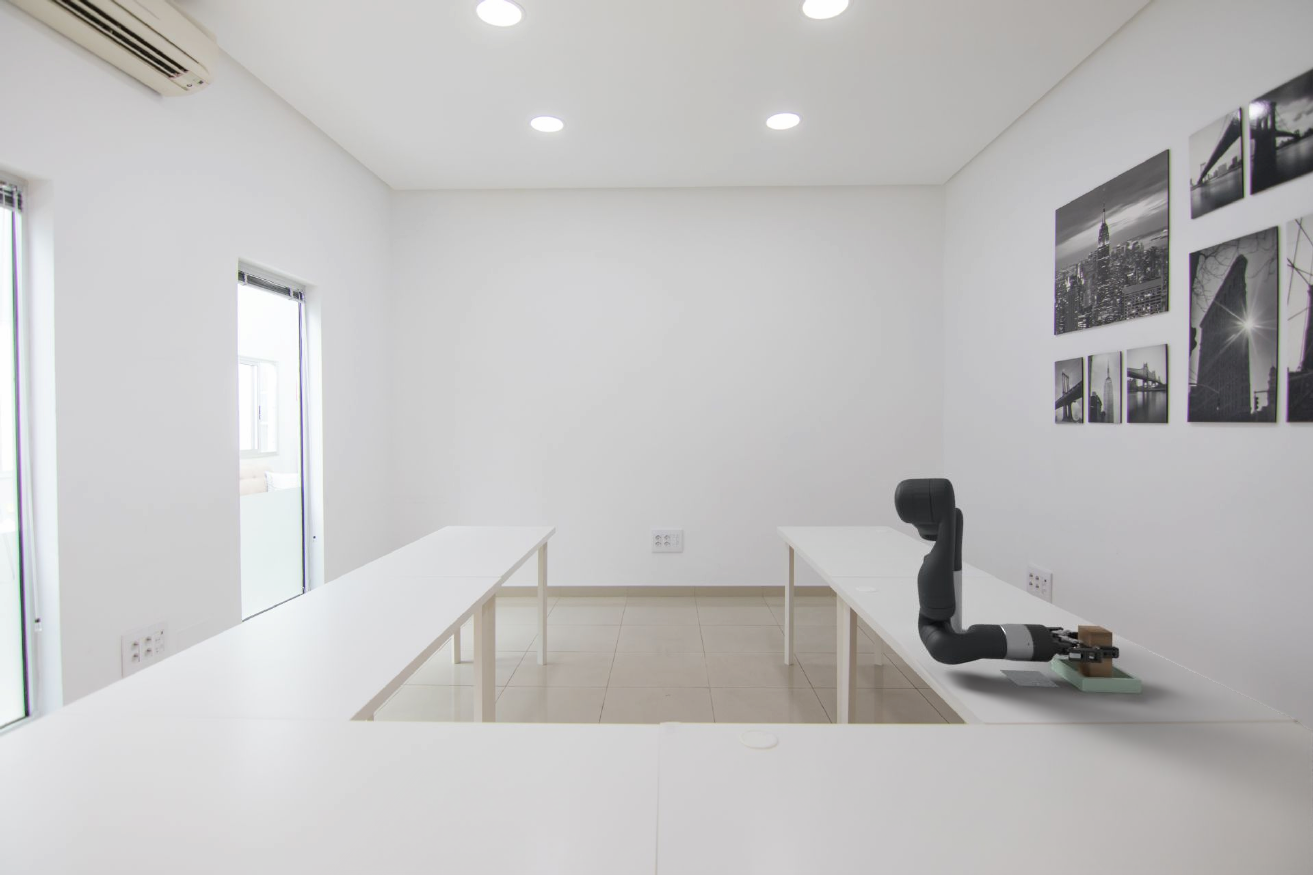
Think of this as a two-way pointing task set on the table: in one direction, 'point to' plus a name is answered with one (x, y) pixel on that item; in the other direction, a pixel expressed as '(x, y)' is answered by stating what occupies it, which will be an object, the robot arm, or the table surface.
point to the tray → (1097, 678)
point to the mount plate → (1028, 678)
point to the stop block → (1091, 637)
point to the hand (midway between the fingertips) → (1104, 644)
